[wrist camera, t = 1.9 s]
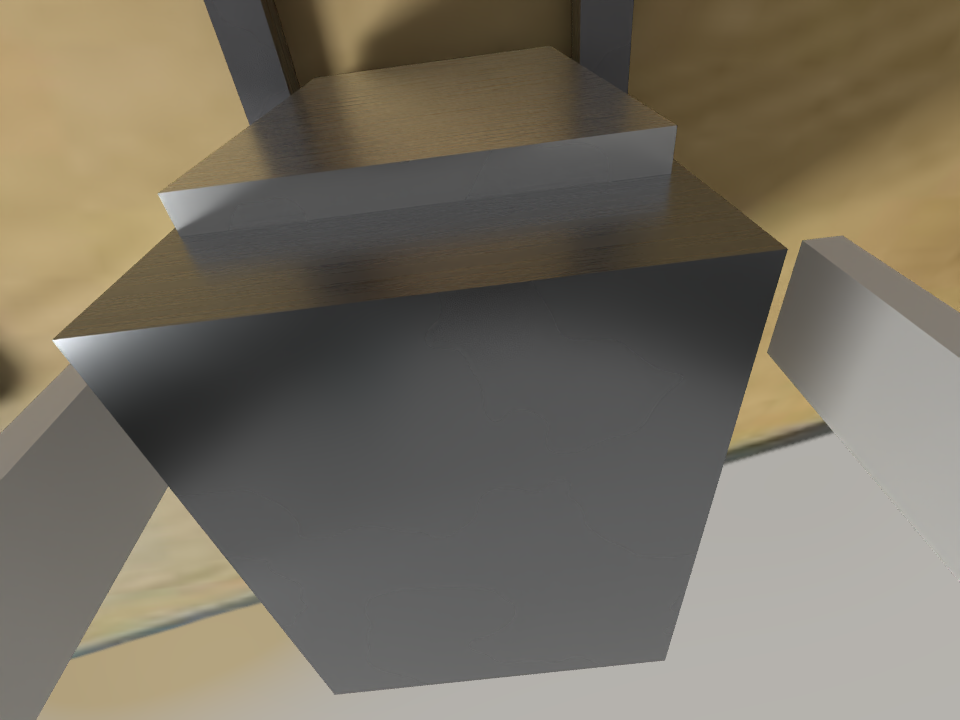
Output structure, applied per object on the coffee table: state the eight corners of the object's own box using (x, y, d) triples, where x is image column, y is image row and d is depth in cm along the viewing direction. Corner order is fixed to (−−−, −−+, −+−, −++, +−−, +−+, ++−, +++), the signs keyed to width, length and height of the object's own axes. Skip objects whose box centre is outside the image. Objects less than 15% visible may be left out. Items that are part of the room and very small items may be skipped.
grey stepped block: (389, 349, 17) (334, 694, 9) (311, 75, 12) (8, 286, 4) (558, 328, 17) (664, 660, 9) (554, 42, 12) (806, 185, 4)
